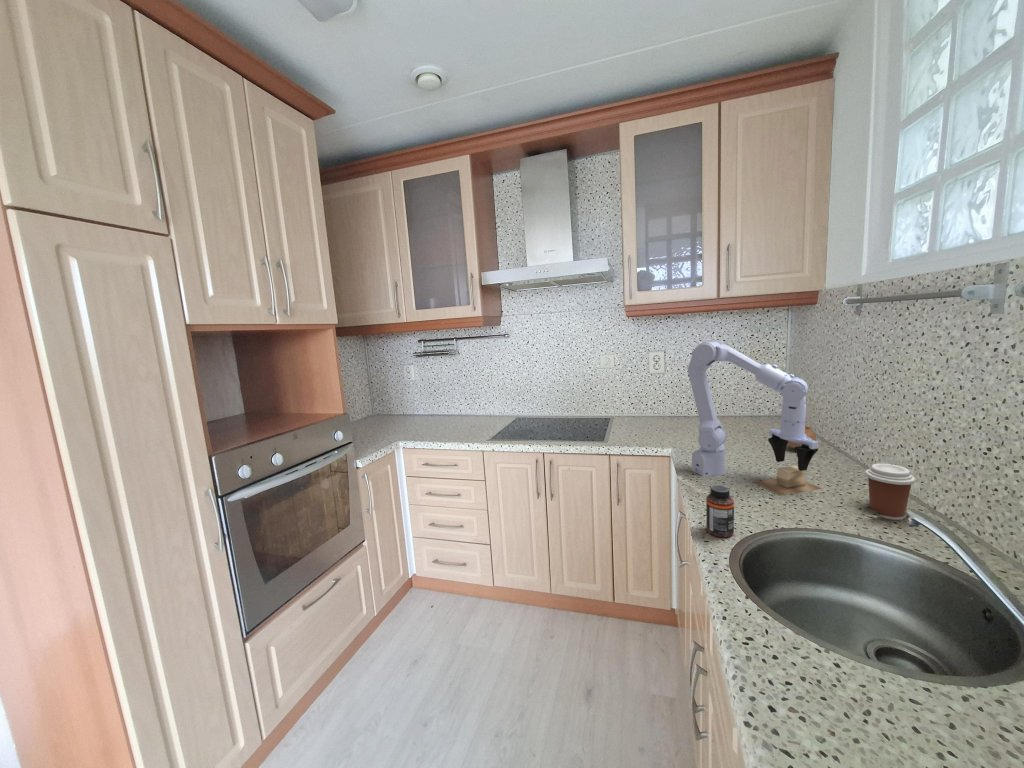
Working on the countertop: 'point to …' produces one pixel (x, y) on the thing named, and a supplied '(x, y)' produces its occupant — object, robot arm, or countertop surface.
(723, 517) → the supplement bottle
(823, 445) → the countertop surface
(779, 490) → the board
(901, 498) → the coffee cup
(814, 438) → the onion
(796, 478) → the block
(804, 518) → the countertop surface
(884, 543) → the countertop surface
